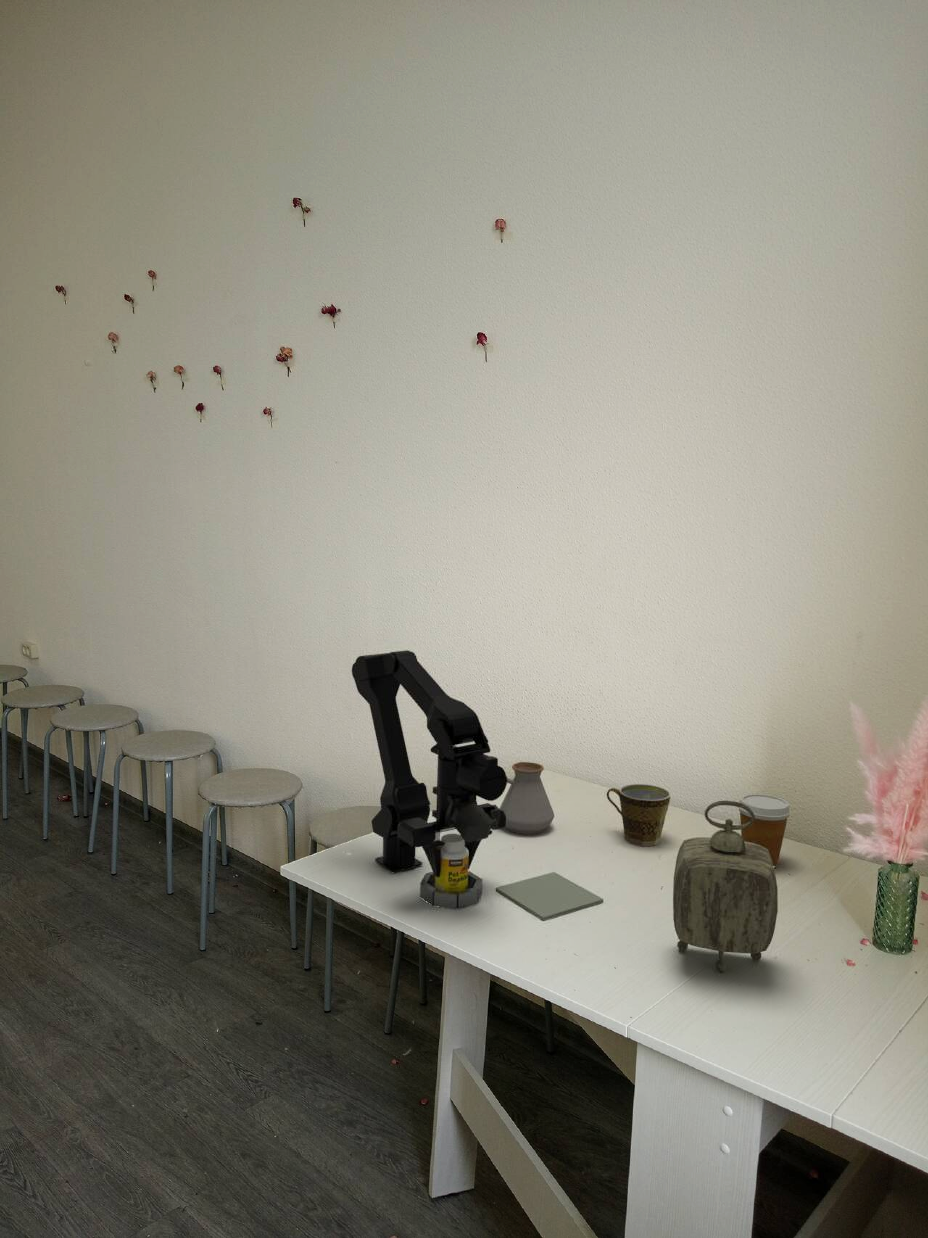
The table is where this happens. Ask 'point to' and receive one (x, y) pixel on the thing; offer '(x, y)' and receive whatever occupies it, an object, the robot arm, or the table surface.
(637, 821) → the ceramic cup
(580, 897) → the mat
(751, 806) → the disposable coffee cup
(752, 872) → the tabletop clock
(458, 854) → the supplement bottle
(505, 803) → the grey turkish cezve
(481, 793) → the robot arm
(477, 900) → the collar
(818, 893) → the table surface
